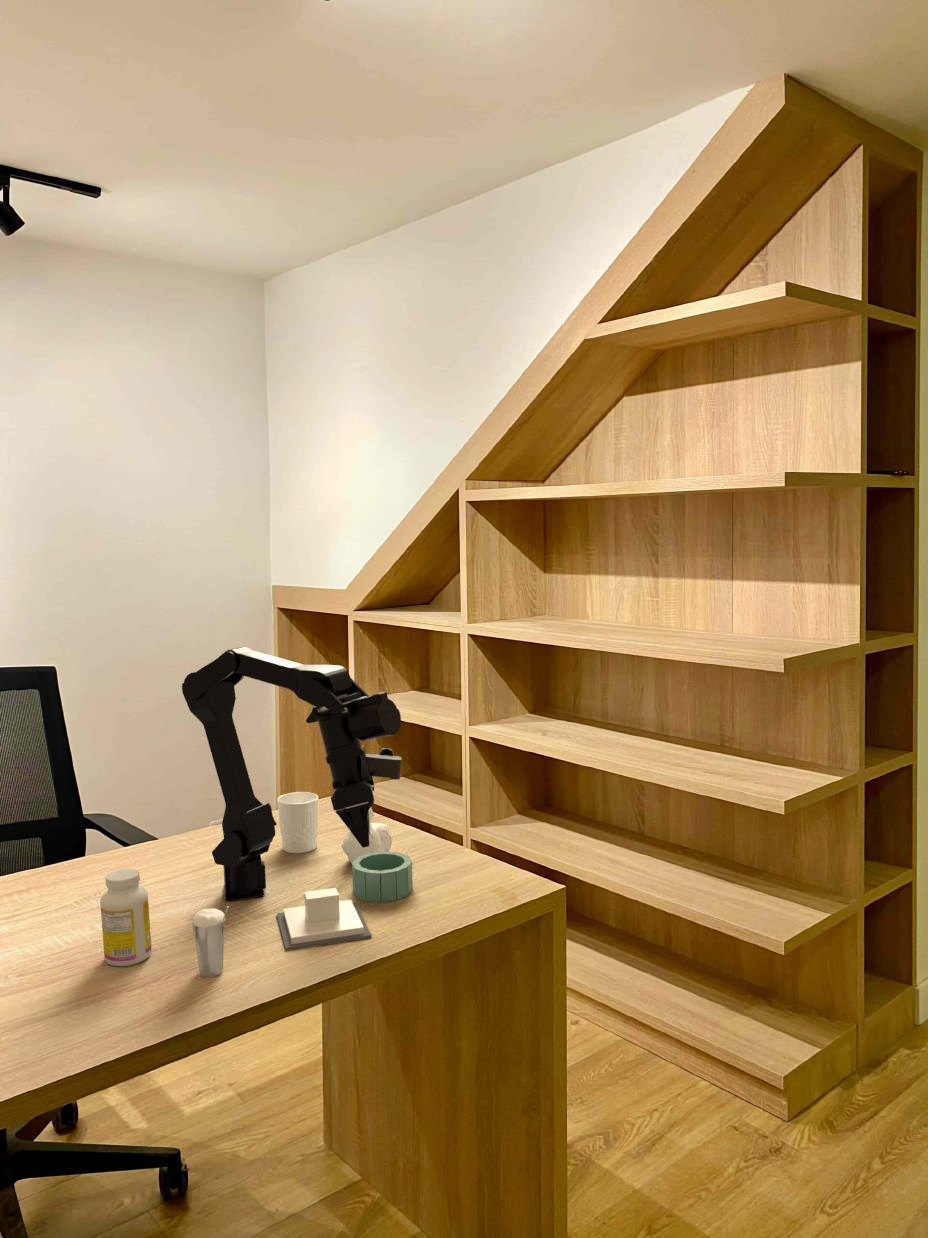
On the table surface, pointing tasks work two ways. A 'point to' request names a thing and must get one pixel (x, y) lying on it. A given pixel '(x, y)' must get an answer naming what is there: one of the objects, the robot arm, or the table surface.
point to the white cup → (298, 821)
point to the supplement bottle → (125, 919)
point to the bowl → (382, 876)
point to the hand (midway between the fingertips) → (366, 840)
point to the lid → (322, 917)
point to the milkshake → (209, 941)
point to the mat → (325, 941)
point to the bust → (377, 840)
